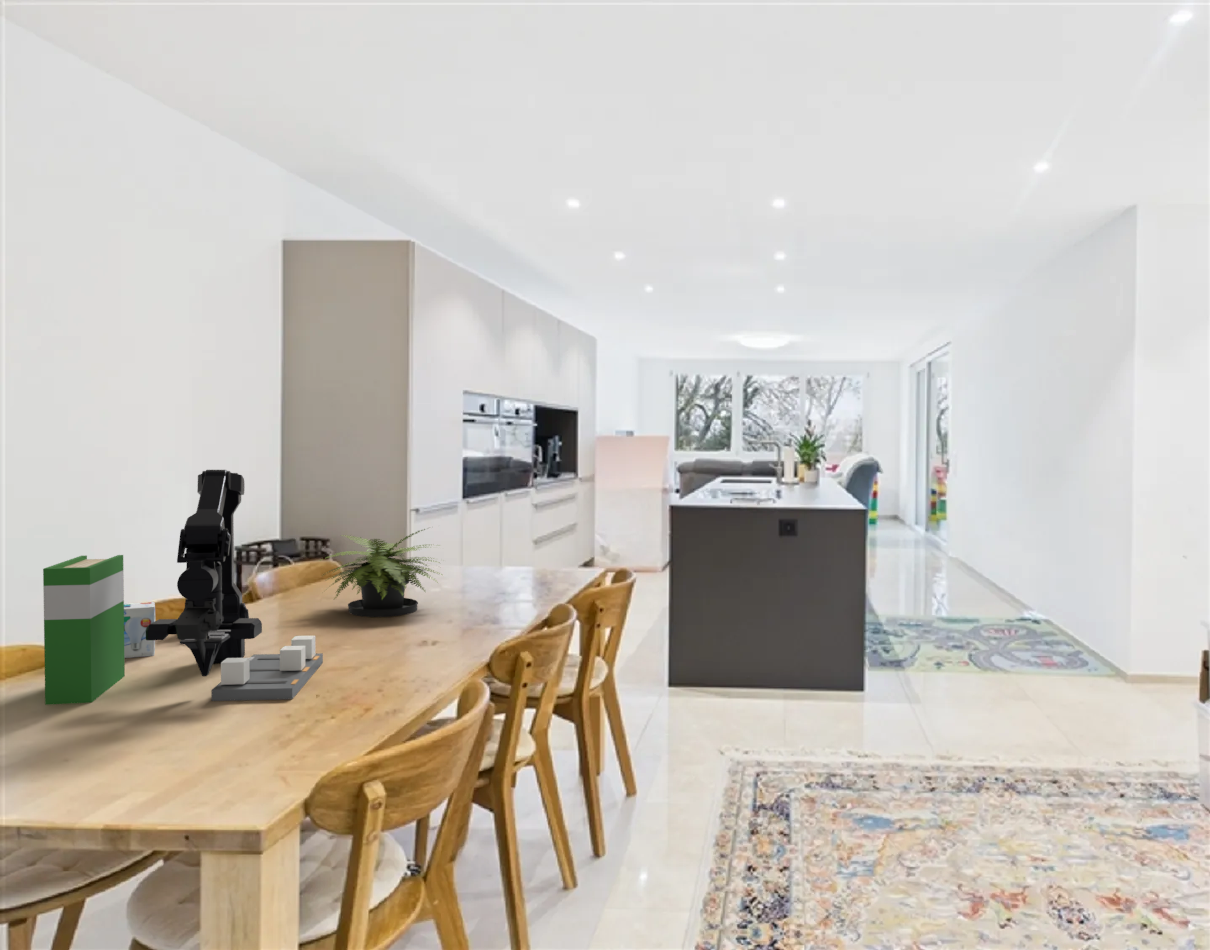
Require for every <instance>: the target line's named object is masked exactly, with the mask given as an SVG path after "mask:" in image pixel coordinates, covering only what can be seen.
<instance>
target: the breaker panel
mask: <svg viewBox="0 0 1210 950" xmlns="http://www.w3.org/2000/svg"><path fill="white" fill-rule="evenodd" d="M323 655H324V654H323V652H322V653H321V652H320V653H316V652H315V656H314V657H313V658H312V659H305V667H304V668H303V669H302V670H297V671H280V653H268V654H267V653H264V654H263V653H262V654H261V653H260V654H254V653H253V655H251V656H250V657H248V658H249V674H250V679H249V680H248V681H247V682H246V683H245V684H227V685H221V681H220V682H219V683H217V685H215V686H214V687H213V688H212V689H210V690H211V702H222V701H226V702H227V701H228V702H229V701H265V700H266V701H267V700H268V701H269V700H272V701H273V700H293V699H294V698H295V697H296V696H297V694H298V693H299V692H300V691H301V689H302V688H303V687H304V686H305V685H306V684H307V682H308V681H309V680H310V679H311V677H312V676H313V675H314V674H315V673H316V672H317V670H318V669H319V668H320V667H321V666H322V664H323V663H324V662H323V661H324V659H323V658H324V657H323Z"/></svg>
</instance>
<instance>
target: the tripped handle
mask: <svg viewBox="0 0 1210 950" xmlns="http://www.w3.org/2000/svg"><path fill="white" fill-rule="evenodd" d="M249 658H250V657H242V658H226V659H225V660H224V661H223V662H221V663H220V682H221V685H227V684H245V683H246V682H247V681H248V680H249V679H250V674H249Z"/></svg>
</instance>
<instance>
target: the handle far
mask: <svg viewBox="0 0 1210 950" xmlns="http://www.w3.org/2000/svg"><path fill="white" fill-rule="evenodd" d="M290 641H291V642H290V643H291V645H290V646H305V659H312V658H313V657H314V656H315V654H316V635H295V636H294V637H293V638H292V639H290Z"/></svg>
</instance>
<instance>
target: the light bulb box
mask: <svg viewBox="0 0 1210 950" xmlns="http://www.w3.org/2000/svg"><path fill="white" fill-rule="evenodd" d="M155 621H156V603H155V602H154V601H146V602H133V603H129V602H128V603H124V659H129V658H141V657H154V656H155V651H156V640H146V629H147V626H148V625H149V624H151V623H153V622H155Z"/></svg>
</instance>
